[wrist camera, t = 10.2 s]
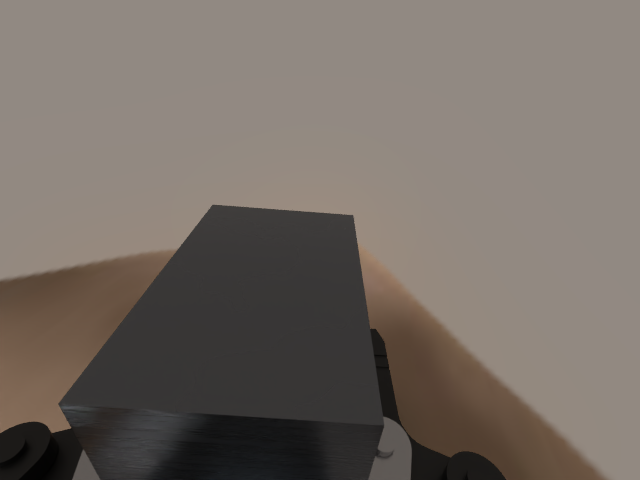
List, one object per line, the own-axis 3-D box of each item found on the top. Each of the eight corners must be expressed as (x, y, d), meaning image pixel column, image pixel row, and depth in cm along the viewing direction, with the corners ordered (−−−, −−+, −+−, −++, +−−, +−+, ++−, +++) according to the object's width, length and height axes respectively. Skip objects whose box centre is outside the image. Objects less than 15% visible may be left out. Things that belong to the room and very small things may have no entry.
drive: (184, 631, 9) (58, 403, 4) (236, 425, 15) (213, 203, 9) (320, 639, 9) (383, 426, 4) (323, 430, 15) (353, 214, 9)
